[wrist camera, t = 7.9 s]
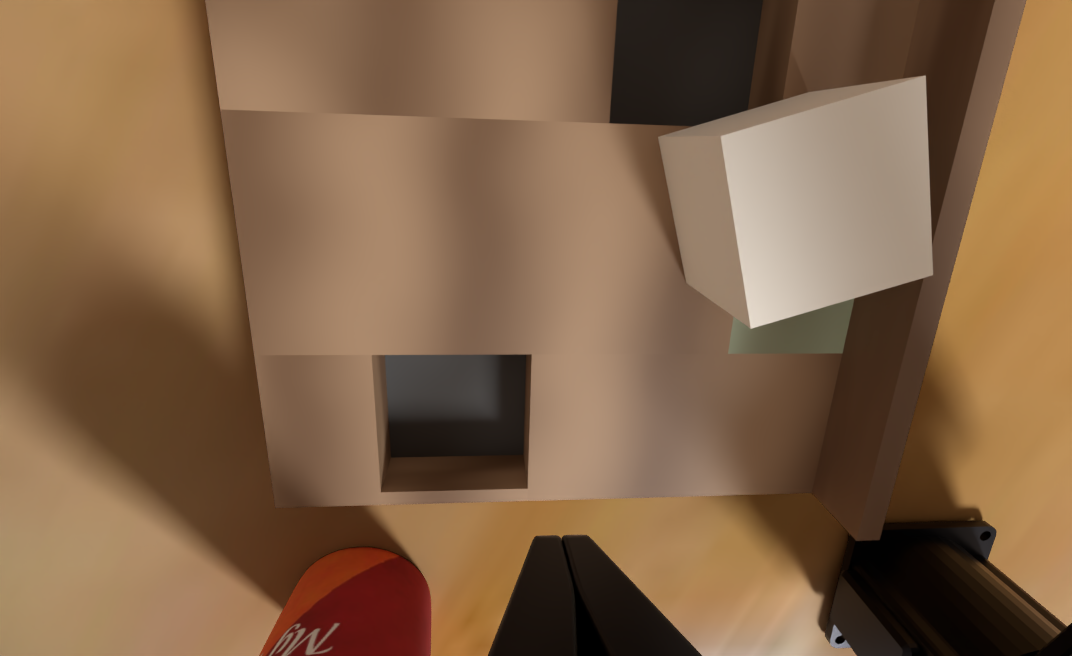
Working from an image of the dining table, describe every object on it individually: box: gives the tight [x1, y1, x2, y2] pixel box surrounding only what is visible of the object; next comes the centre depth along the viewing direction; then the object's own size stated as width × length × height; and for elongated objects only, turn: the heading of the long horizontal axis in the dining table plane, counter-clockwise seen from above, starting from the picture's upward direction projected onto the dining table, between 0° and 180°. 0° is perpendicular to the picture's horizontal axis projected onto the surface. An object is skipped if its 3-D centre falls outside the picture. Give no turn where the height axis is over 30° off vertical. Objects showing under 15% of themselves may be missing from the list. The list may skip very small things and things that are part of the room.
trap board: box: [205, 0, 1026, 541], centre depth 17 cm, size 20×18×5 cm
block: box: [658, 75, 933, 329], centre depth 15 cm, size 4×4×4 cm
